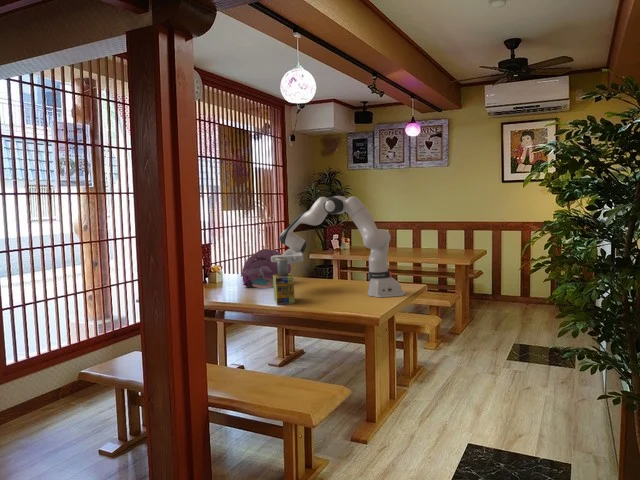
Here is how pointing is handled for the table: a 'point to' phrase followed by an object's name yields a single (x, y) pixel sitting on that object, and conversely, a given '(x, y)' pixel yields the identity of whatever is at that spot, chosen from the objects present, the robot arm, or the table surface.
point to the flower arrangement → (261, 269)
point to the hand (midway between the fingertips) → (285, 259)
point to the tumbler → (282, 267)
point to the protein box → (283, 289)
